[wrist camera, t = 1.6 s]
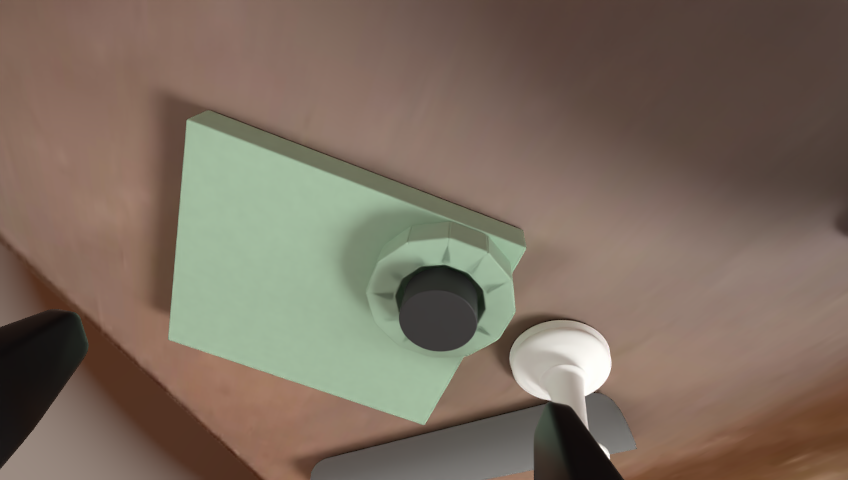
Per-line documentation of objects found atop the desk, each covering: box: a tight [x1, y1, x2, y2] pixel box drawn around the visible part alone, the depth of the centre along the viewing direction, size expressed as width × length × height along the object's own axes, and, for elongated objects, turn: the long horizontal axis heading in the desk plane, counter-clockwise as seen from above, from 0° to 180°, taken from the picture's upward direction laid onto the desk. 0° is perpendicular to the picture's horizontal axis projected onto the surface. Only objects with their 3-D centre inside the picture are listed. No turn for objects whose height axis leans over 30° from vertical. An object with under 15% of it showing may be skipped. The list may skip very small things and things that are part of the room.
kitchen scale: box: [168, 110, 526, 425], centre depth 20 cm, size 14×12×3 cm
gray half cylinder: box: [310, 393, 637, 480], centre depth 26 cm, size 4×20×2 cm, turn 117°
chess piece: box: [509, 320, 611, 460], centre depth 18 cm, size 5×5×10 cm
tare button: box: [399, 268, 478, 352], centre depth 17 cm, size 3×3×2 cm
